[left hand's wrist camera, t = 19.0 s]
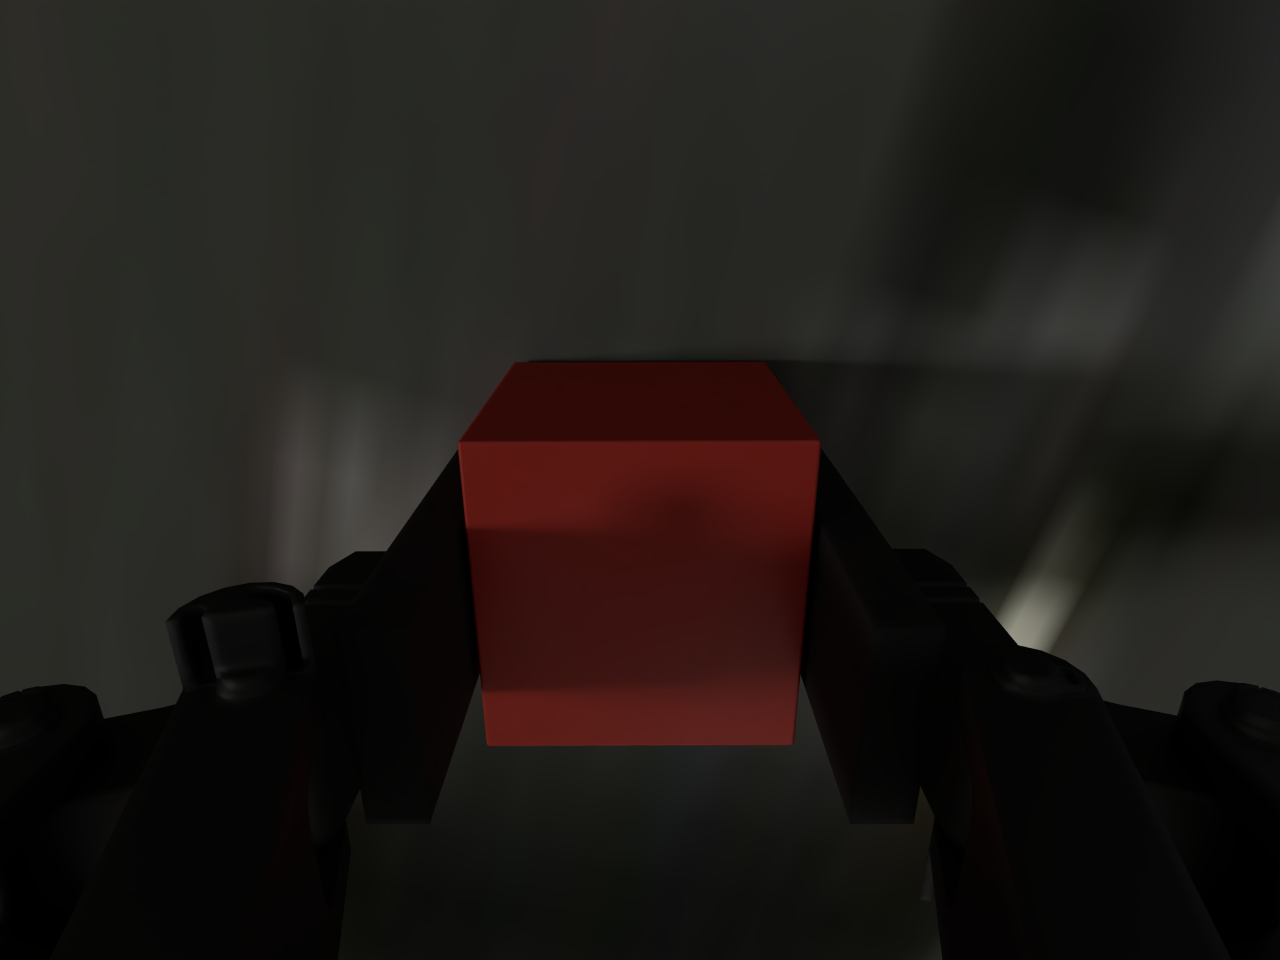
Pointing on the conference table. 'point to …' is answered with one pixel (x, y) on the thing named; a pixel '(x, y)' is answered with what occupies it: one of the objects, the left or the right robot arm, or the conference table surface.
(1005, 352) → the conference table surface
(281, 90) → the conference table surface
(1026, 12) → the conference table surface
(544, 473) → the brick
